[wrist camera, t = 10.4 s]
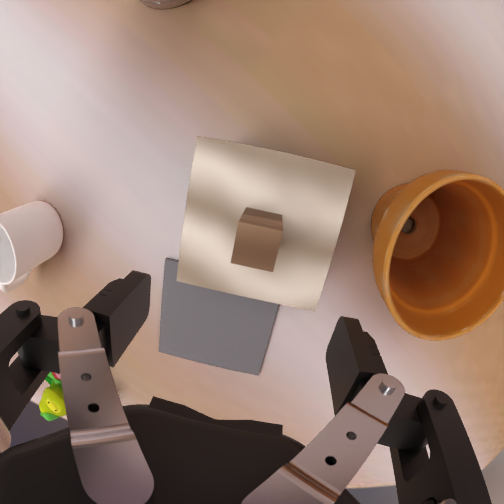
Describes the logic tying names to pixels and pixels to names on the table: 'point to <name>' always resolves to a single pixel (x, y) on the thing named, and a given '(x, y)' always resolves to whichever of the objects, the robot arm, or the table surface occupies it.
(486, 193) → the flower pot
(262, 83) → the table surface
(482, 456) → the table surface
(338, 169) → the lid
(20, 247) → the cup
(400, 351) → the table surface
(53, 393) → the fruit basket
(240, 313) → the mat
